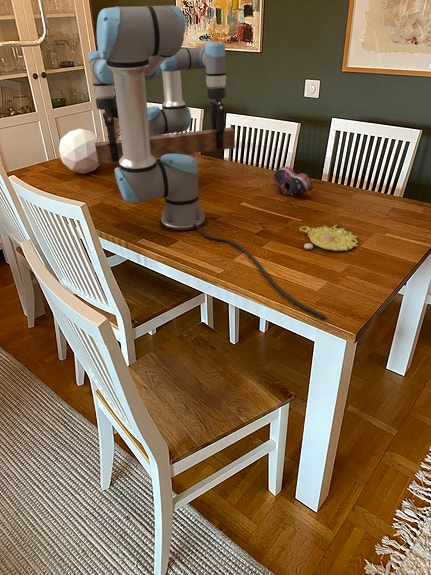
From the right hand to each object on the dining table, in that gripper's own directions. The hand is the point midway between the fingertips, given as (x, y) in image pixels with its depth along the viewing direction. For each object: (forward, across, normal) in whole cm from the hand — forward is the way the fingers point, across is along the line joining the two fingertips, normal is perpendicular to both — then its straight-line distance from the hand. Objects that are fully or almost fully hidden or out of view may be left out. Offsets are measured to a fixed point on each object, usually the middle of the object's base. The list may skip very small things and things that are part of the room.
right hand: (114, 159), depth 178 cm
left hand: (-1, 0, -43) cm, 43 cm away
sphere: (+13, +31, +14) cm, 36 cm away
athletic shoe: (+14, -25, -65) cm, 71 cm away
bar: (0, 0, -22) cm, 22 cm away
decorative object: (+14, -68, -61) cm, 93 cm away
